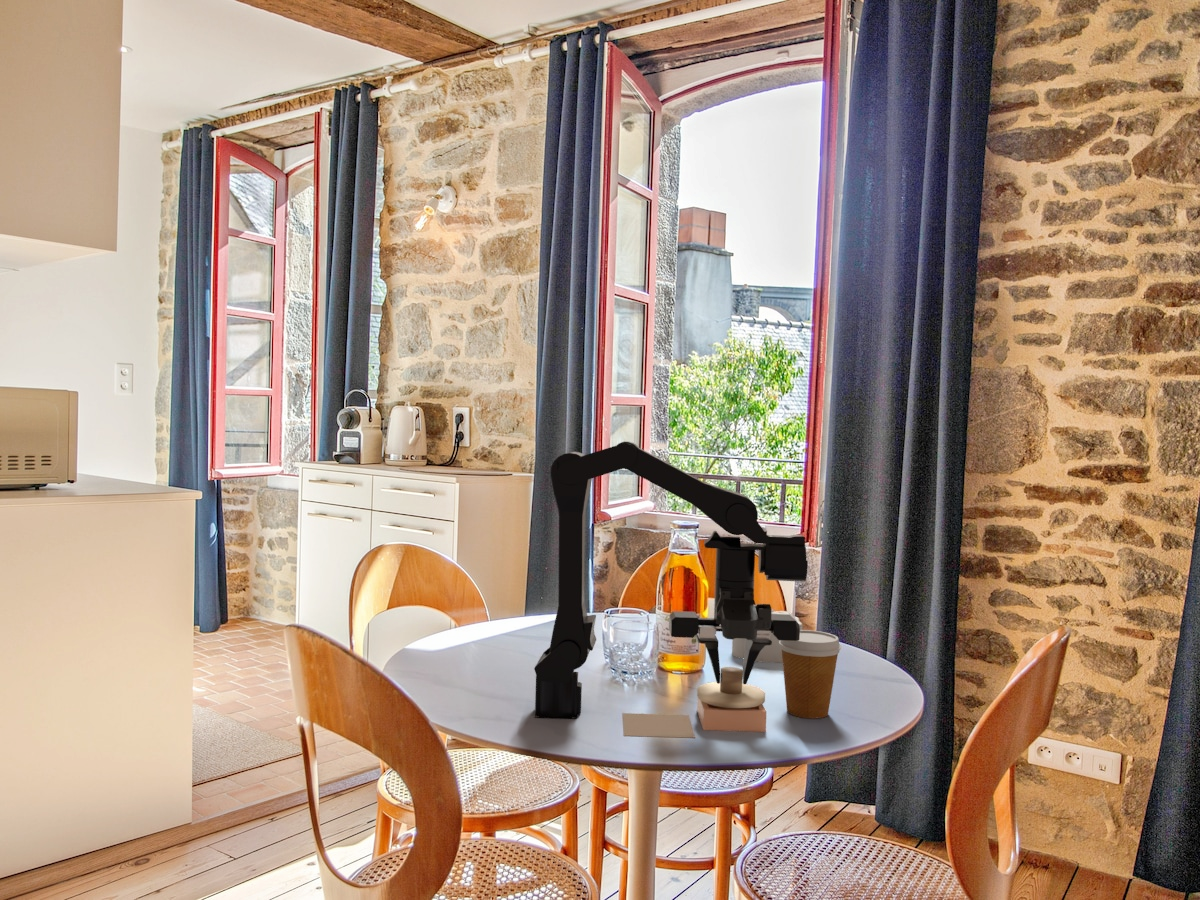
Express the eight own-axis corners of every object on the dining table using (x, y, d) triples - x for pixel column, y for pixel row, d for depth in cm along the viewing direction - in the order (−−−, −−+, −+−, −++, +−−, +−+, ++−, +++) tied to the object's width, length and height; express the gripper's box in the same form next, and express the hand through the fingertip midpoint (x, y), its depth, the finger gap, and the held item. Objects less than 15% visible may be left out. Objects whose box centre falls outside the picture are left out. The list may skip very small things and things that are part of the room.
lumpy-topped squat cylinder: (803, 664, 174) (804, 618, 174) (733, 661, 175) (734, 615, 175) (796, 650, 184) (797, 607, 184) (730, 647, 186) (731, 604, 185)
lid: (700, 707, 132) (701, 677, 132) (693, 687, 142) (694, 660, 142) (770, 709, 132) (771, 680, 132) (758, 689, 142) (759, 662, 142)
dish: (703, 733, 133) (703, 709, 133) (696, 714, 142) (697, 691, 142) (765, 735, 133) (766, 711, 133) (755, 715, 142) (756, 693, 142)
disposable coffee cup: (794, 699, 151) (796, 626, 151) (849, 712, 145) (851, 636, 145) (765, 712, 144) (767, 635, 143) (821, 726, 138) (824, 646, 137)
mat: (623, 739, 130) (623, 735, 130) (622, 717, 140) (622, 713, 140) (695, 741, 130) (695, 737, 130) (688, 719, 140) (688, 715, 140)
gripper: (675, 586, 129) (672, 697, 129) (809, 590, 129) (805, 701, 129) (670, 573, 140) (667, 675, 140) (793, 577, 140) (789, 679, 140)
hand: (731, 683), depth 137 cm, fingers open, 4 cm apart
